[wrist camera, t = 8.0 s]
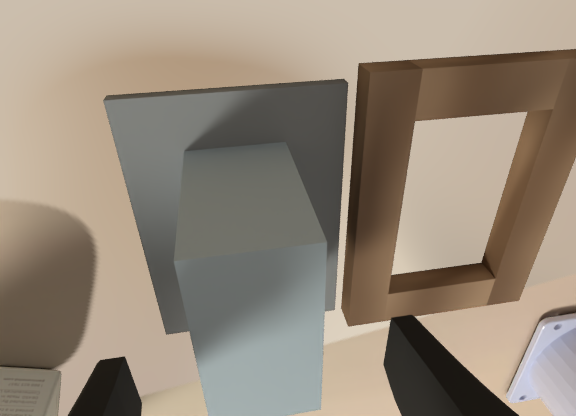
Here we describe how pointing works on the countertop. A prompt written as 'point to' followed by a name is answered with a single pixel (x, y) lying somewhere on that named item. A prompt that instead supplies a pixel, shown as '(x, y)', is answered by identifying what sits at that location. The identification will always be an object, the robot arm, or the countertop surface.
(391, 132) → the walnut frame
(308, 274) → the painted block
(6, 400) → the small box
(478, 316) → the countertop surface
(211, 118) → the rubber mat
